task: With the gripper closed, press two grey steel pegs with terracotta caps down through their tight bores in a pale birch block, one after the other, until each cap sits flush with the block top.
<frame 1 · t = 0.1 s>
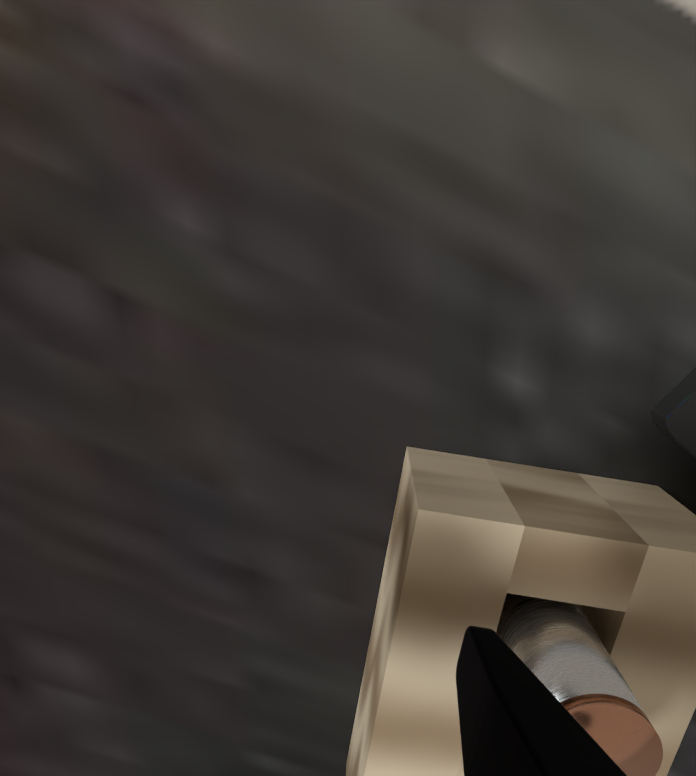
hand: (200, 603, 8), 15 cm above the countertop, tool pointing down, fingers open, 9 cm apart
birch block: (485, 638, 25), on the countertop
steel peg 2: (562, 676, 17), point 7 cm above the countertop, slide at 4.0 cm
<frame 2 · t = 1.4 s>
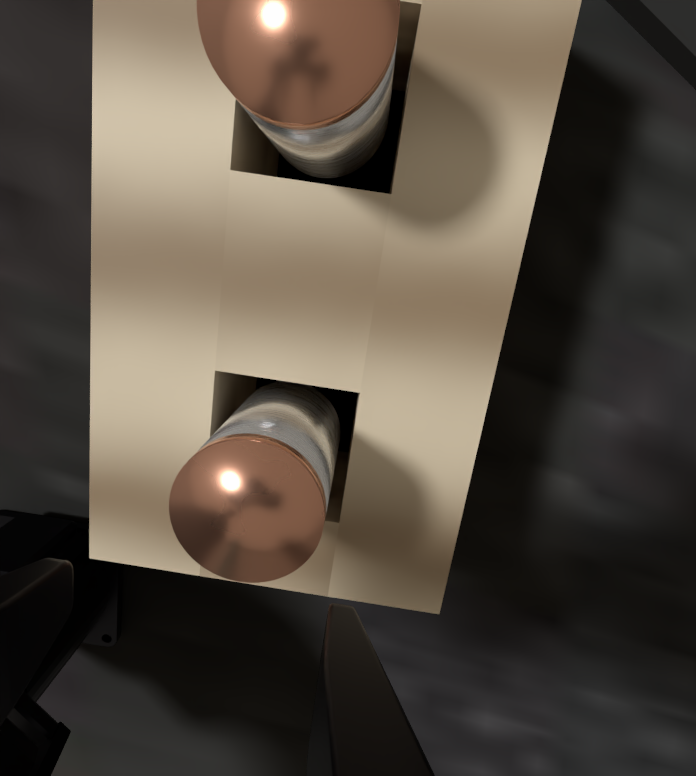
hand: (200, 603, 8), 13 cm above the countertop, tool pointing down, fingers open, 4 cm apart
steel peg 1: (271, 464, 14), point 7 cm above the countertop, slide at 4.0 cm
birch block: (320, 280, 19), on the countertop
steel peg 2: (316, 73, 11), point 7 cm above the countertop, slide at 4.0 cm
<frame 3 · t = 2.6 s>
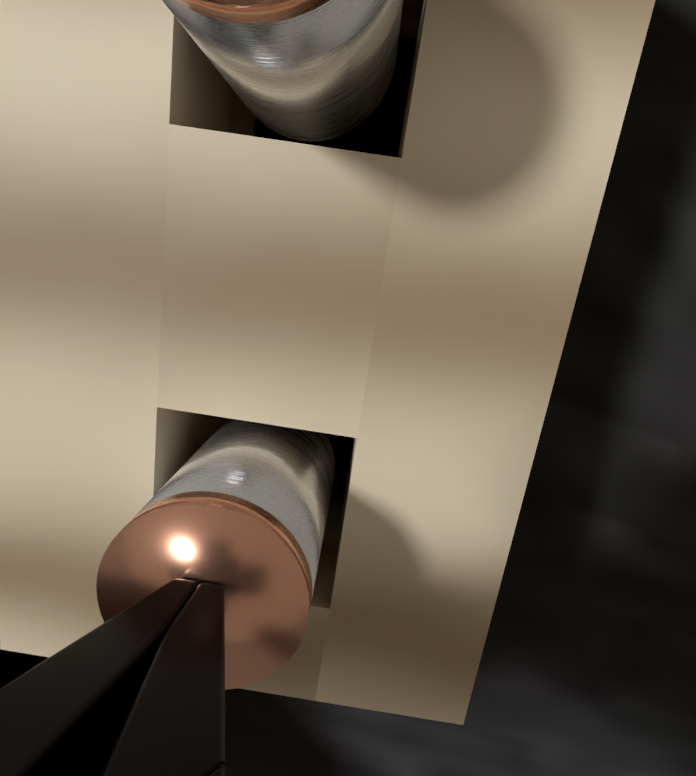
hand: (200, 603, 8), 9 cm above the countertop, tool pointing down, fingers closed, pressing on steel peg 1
steel peg 1: (246, 516, 11), point 6 cm above the countertop, slide at 3.0 cm, touching gripper
birch block: (309, 282, 15), on the countertop
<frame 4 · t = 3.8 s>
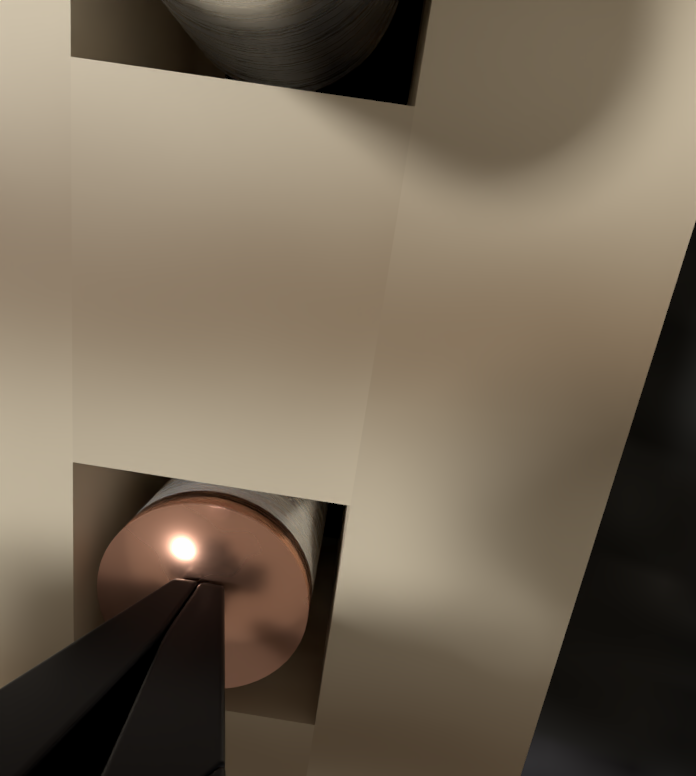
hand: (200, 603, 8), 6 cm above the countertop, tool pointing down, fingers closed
steel peg 1: (246, 515, 11), point 3 cm above the countertop, slide at 0.0 cm
birch block: (293, 286, 12), on the countertop
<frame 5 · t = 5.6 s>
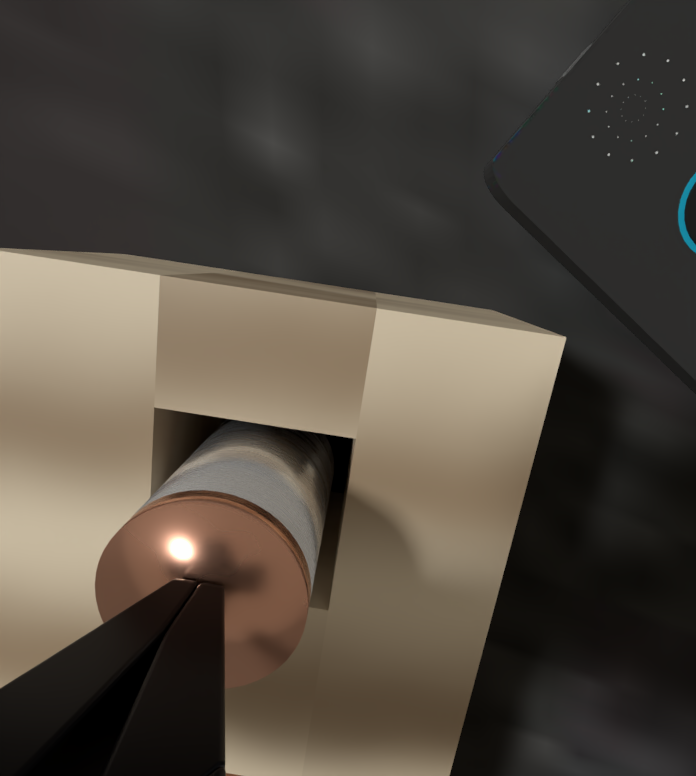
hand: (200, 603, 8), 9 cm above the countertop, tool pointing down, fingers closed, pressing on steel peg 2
steel peg 1: (241, 733, 16), point 3 cm above the countertop, slide at 0.0 cm
birch block: (275, 551, 18), on the countertop
steel peg 2: (244, 515, 11), point 6 cm above the countertop, slide at 2.9 cm, touching gripper
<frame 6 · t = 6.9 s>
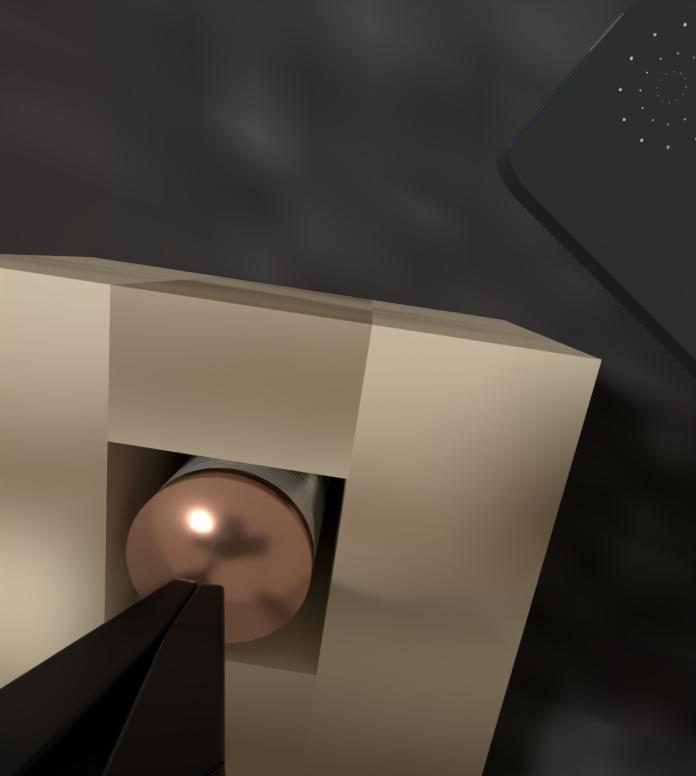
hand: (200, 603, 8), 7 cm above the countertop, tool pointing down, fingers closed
birch block: (262, 584, 16), on the countertop
steel peg 2: (254, 495, 12), point 3 cm above the countertop, slide at 0.0 cm
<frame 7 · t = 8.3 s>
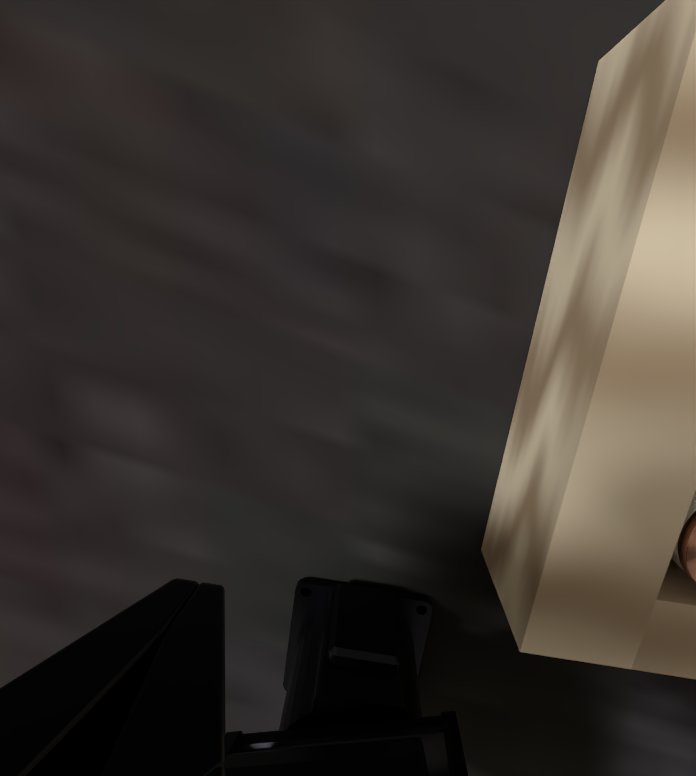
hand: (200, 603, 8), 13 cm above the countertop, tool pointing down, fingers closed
steel peg 1: (688, 506, 18), point 3 cm above the countertop, slide at 0.0 cm
birch block: (678, 358, 19), on the countertop
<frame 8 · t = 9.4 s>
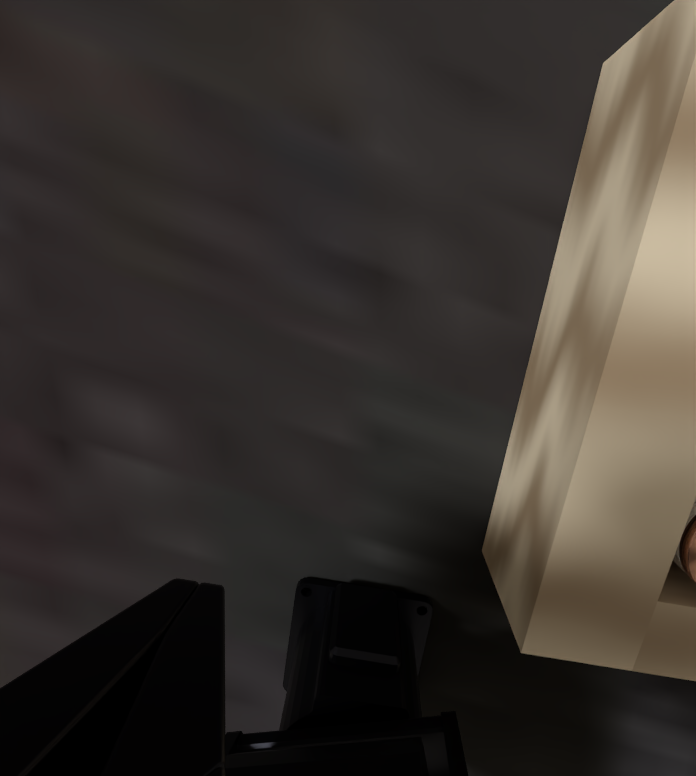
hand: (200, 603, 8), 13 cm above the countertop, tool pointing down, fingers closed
steel peg 1: (690, 508, 18), point 3 cm above the countertop, slide at 0.0 cm
birch block: (680, 361, 19), on the countertop
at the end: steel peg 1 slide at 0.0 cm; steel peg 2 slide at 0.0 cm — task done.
